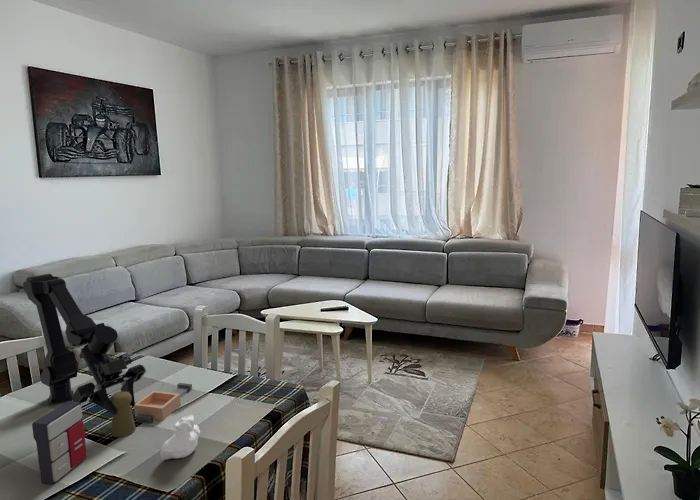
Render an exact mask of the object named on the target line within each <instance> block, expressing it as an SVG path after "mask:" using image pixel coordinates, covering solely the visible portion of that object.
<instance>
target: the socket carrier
mask: <svg viewBox="0 0 700 500" xmlns="http://www.w3.org/2000/svg"><path fill="white" fill-rule="evenodd" d="M180 407H181V398H180V394H176V393H172V392H168V391H167V392H166V391H156V390H152V391H150V392H149V393H148V394H147V395H145V396H144V397H143V398H142V399H140V400H139V401H137V402H135V406H134V407H133V408H134V409H133V410H134V417H135V418H136V416H137V415H138V414H142V415H150V416H154V420H157V421H164V420H165V419H167V418H168V417H169V416H170V415H171V414H173V412H175V411H176V410H177V409H178V408H180Z"/></svg>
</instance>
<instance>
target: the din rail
mask: <svg viewBox="0 0 700 500" xmlns="http://www.w3.org/2000/svg"><path fill="white" fill-rule="evenodd" d="M176 386H177V388H175V389H174V390H173V391H172V392H171V393H176V394H180V399H181V398H182V397H183V396H184V395H185V394H186V392H187V393H188V392H190V391H189V390H191V389H192V390H193V384H192V383H184V382H178V383H177V385H176ZM192 390H191V391H192ZM135 419H136V423H141V424H148V425H151V424H152V423H153V422H154V420H155V419H154V416H150V415H142V414H138V415H137V416H136V417H135Z"/></svg>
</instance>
